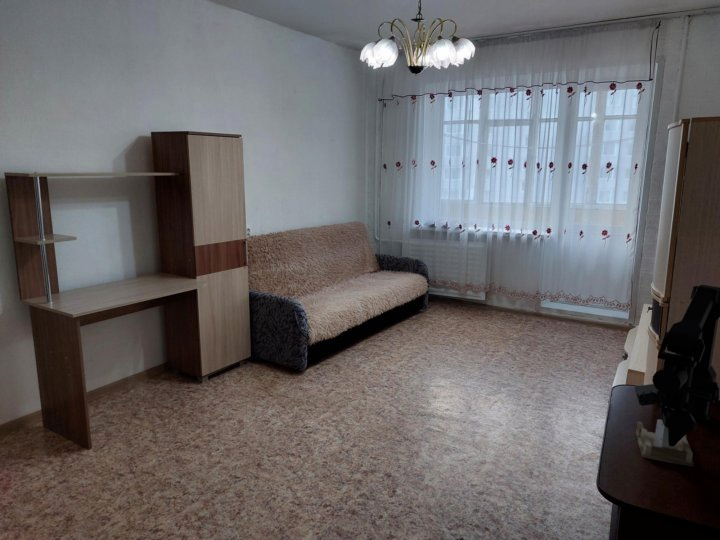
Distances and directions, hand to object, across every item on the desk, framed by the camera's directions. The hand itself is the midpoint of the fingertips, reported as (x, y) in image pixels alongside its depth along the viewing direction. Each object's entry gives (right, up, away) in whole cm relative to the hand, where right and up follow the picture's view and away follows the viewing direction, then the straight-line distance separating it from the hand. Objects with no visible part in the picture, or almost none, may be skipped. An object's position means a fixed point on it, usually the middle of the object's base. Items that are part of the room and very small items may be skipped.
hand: (667, 436), depth 127 cm
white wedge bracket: (0, -4, +2) cm, 4 cm away
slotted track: (+1, -4, +4) cm, 6 cm away
